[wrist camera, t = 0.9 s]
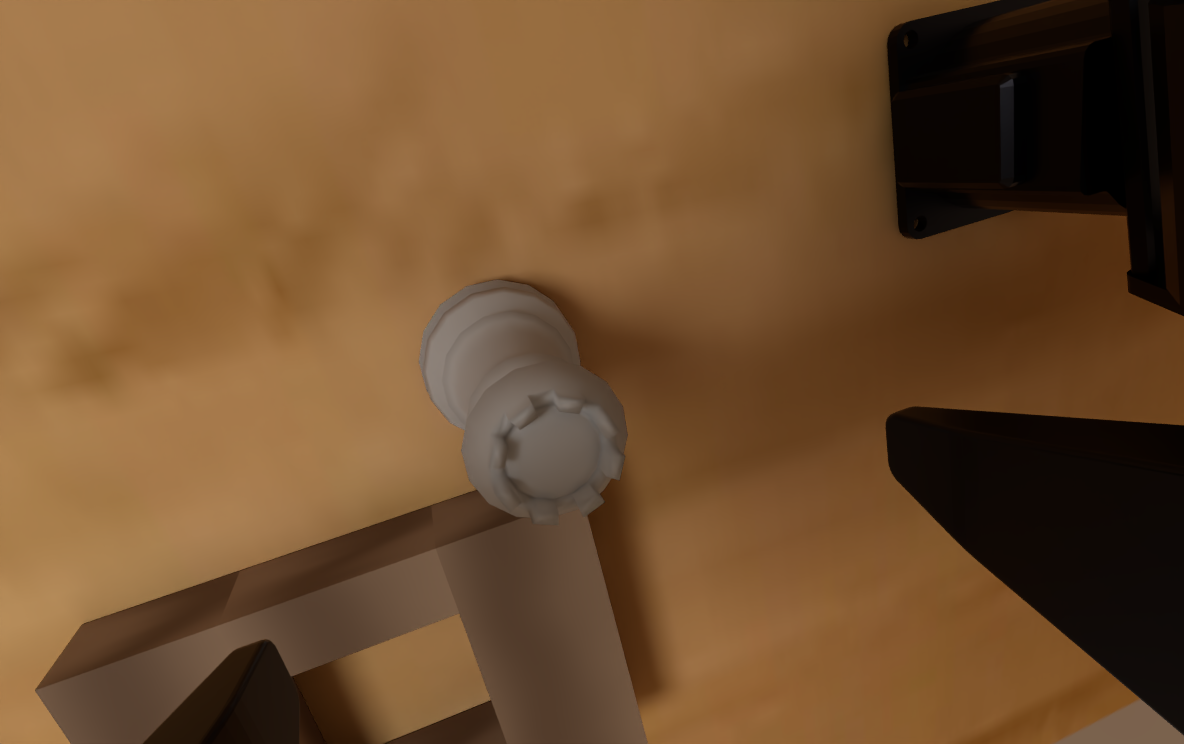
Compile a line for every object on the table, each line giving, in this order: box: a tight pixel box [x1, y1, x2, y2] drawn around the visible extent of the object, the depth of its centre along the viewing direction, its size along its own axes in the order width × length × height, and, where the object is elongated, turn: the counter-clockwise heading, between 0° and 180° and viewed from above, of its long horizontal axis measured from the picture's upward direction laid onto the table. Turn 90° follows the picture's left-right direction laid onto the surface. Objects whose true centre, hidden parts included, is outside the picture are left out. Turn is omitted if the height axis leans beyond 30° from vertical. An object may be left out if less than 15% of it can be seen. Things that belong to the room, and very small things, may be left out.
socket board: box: [35, 490, 648, 744], centre depth 20 cm, size 14×10×2 cm
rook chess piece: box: [419, 280, 628, 525], centre depth 15 cm, size 4×4×8 cm
